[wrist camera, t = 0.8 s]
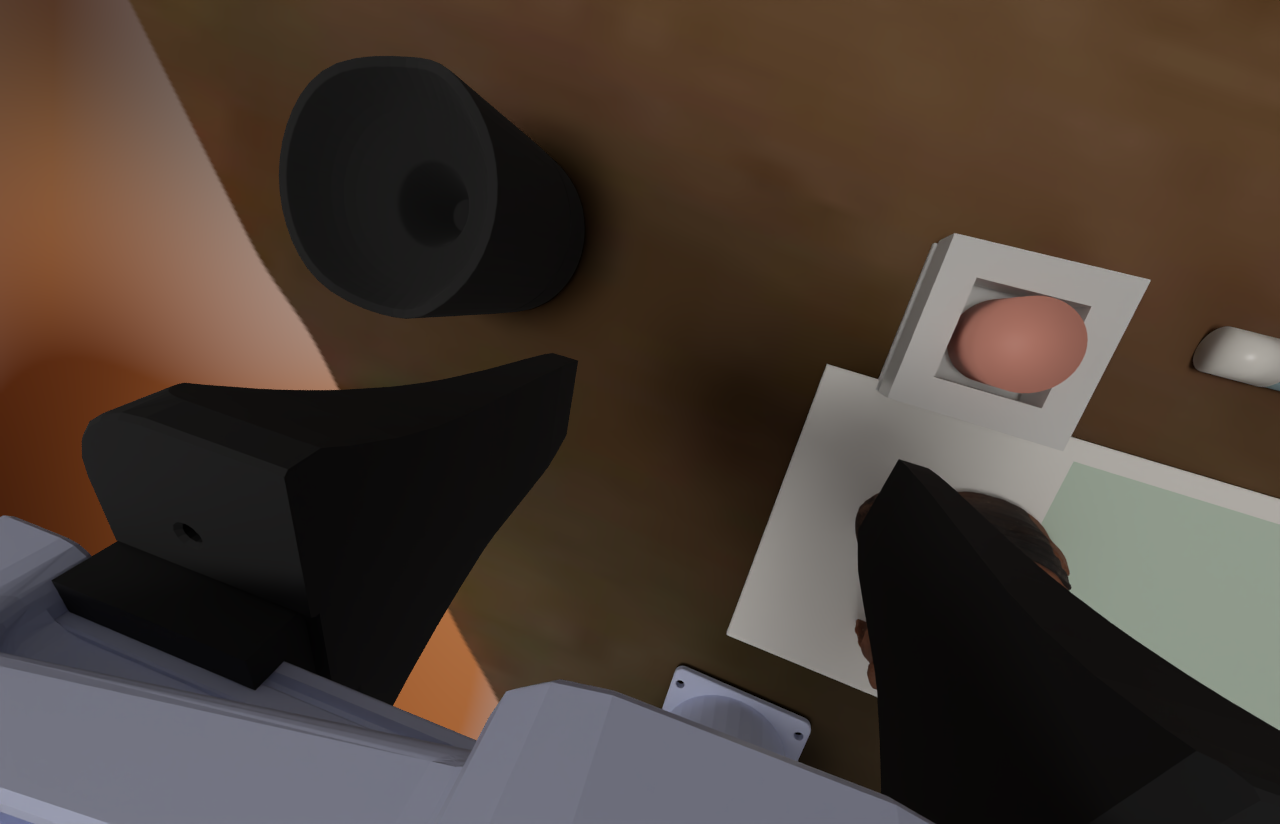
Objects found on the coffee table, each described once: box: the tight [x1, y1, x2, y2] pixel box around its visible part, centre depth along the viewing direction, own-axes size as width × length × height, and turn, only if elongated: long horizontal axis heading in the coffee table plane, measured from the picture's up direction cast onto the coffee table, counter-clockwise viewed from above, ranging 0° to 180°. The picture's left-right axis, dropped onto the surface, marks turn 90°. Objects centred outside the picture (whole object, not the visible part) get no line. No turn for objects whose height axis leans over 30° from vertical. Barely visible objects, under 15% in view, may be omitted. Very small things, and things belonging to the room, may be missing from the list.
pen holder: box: [279, 56, 585, 319], centre depth 23 cm, size 9×9×10 cm
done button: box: [947, 296, 1088, 393], centre depth 20 cm, size 4×4×3 cm
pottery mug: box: [855, 491, 1072, 690], centre depth 23 cm, size 12×10×8 cm
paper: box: [726, 364, 1280, 730], centre depth 25 cm, size 16×26×1 cm, turn 74°
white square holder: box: [876, 233, 1151, 451], centre depth 22 cm, size 7×7×3 cm
